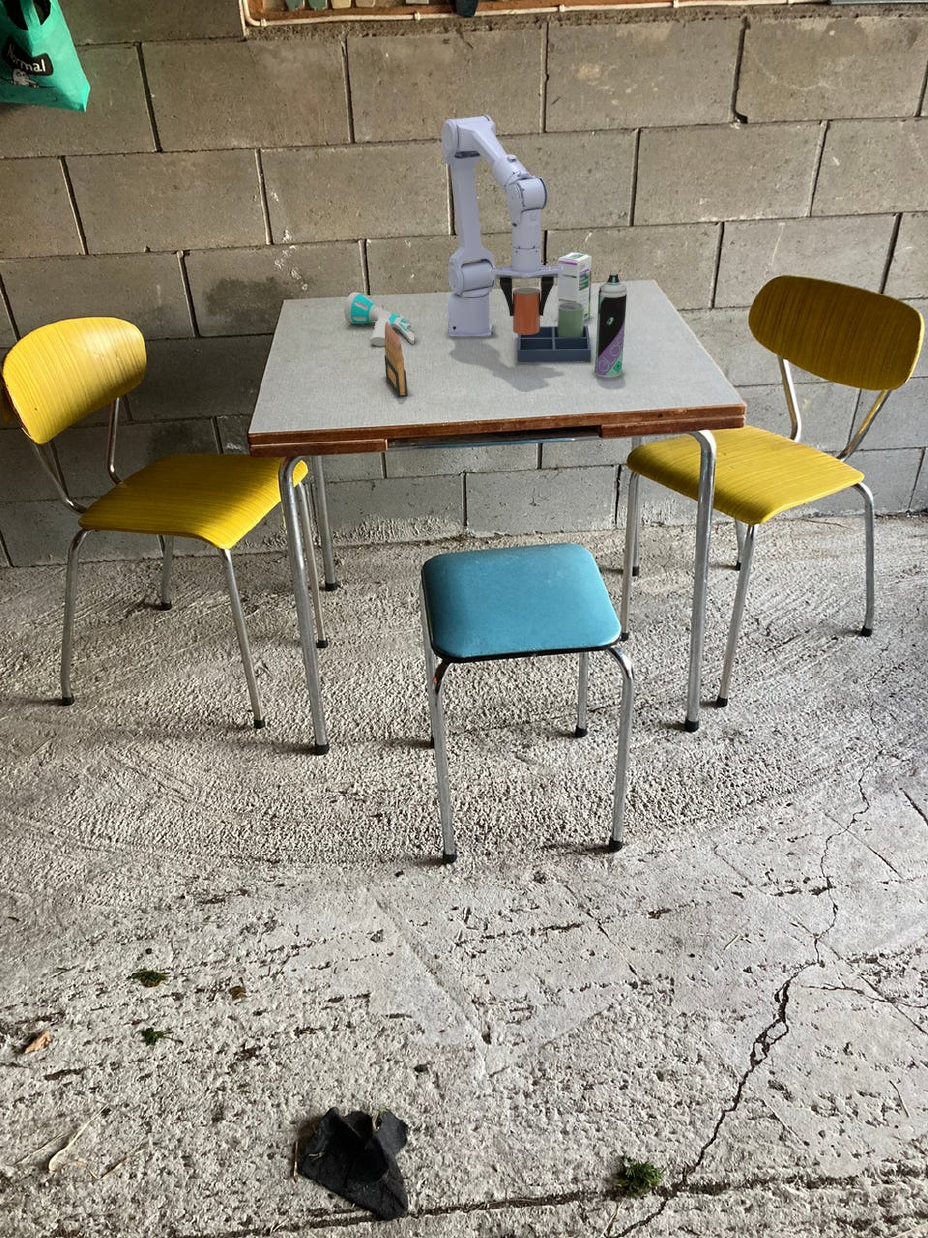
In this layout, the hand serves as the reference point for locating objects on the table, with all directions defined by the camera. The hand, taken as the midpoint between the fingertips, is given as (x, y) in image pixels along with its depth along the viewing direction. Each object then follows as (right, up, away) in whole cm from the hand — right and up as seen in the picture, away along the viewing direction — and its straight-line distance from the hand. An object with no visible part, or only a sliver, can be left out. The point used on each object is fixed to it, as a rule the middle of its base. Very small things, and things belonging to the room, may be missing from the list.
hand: (526, 314), depth 193 cm
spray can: (+17, -12, 0) cm, 21 cm away
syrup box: (+13, +8, +29) cm, 32 cm away
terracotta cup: (0, -3, +2) cm, 3 cm away
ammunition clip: (-26, -16, -2) cm, 31 cm away
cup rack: (+7, -4, +12) cm, 14 cm away
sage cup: (+11, -2, +14) cm, 18 cm away
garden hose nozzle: (-32, +4, +26) cm, 42 cm away
